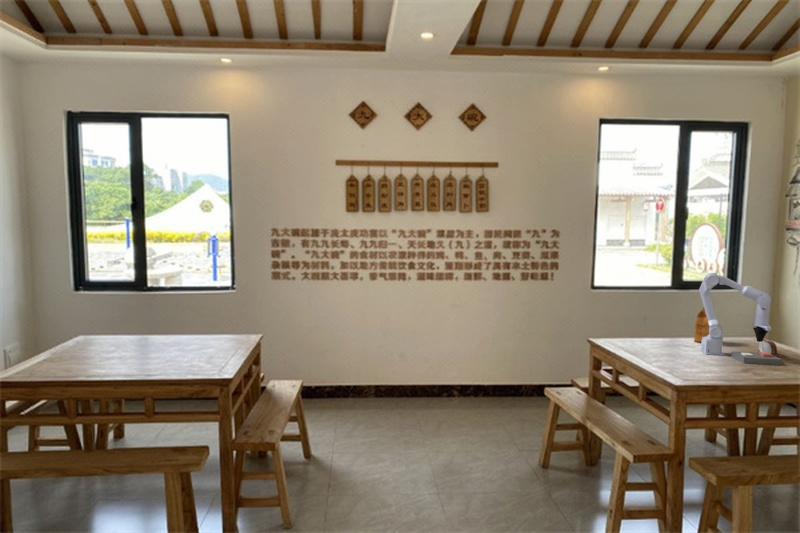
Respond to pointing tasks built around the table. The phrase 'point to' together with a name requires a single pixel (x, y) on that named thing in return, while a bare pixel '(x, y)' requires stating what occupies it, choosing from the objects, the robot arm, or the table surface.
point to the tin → (768, 347)
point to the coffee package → (701, 326)
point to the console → (756, 358)
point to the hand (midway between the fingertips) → (759, 341)
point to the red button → (765, 354)
